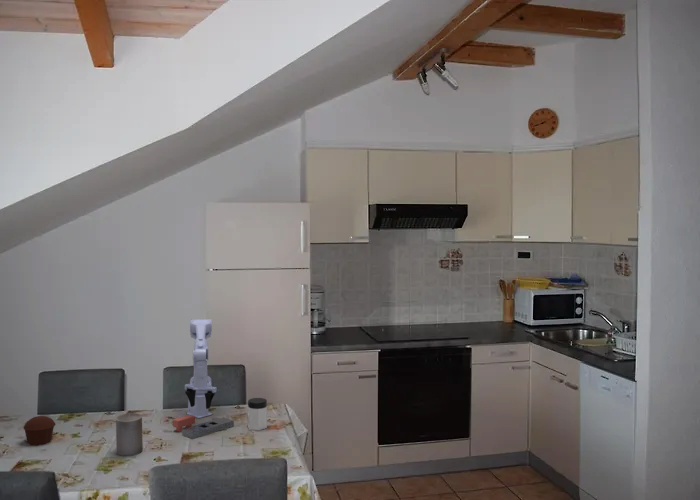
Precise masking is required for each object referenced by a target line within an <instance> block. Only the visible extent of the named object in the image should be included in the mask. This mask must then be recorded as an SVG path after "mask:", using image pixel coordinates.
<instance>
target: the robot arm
mask: <svg viewBox="0 0 700 500" xmlns="http://www.w3.org/2000/svg"><path fill="white" fill-rule="evenodd" d="M189 321H190V322H189V332H190V338H192V339H194V343H193V350H192V363H193V364H192V365H193V376H192V377H190V380H189V383H185V384H184V390H185V395H186V396H187V400H188V401H187V412H186V415H193V416H195V418H198V419H202V418H205V417H208V416H212V415H213V413H212V412H210V411H209V409H210V408H211V406H212V405H211V403H212V401H213V399H214V396H215V394H216V393H217V386H212V378H211V376H209V374H208V361H209V347H208V339H209V338H211V336H212V332H213V331H212V329H213V328H212V327H213V325H212V323H213V322H212V321H213V320H212V319H211V318H208V319H204V318H203V319H190V320H189Z"/></svg>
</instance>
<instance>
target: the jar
mask: <svg viewBox="0 0 700 500" xmlns="http://www.w3.org/2000/svg"><path fill="white" fill-rule="evenodd" d="M267 405H268V400H267V399H266V398H263V397H252V398H249V399H248V400H247V428H248V430H249V431H252V430H253V431H261V430H265V428H266V429H267V428H268V406H267Z"/></svg>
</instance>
